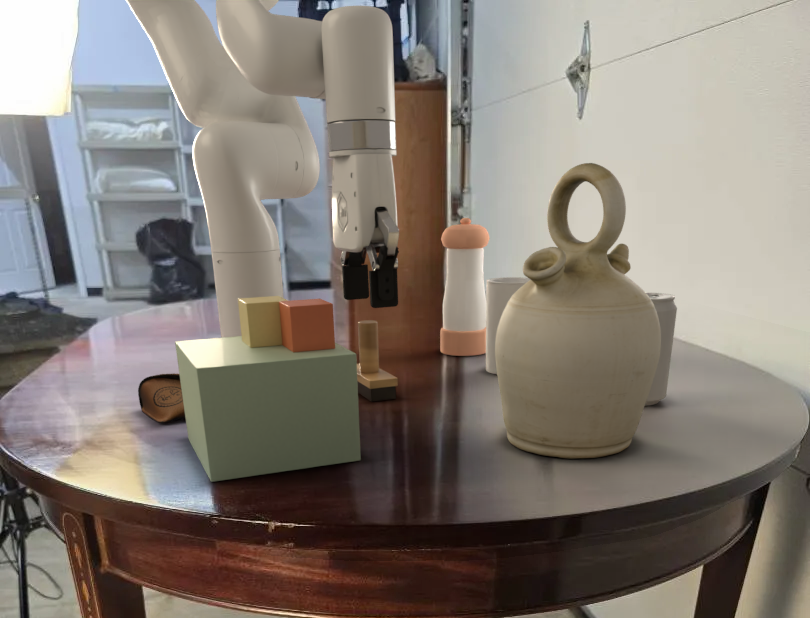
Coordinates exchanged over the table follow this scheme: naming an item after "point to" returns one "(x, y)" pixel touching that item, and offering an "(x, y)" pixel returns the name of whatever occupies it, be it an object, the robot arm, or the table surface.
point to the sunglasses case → (162, 397)
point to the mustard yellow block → (260, 321)
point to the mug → (497, 311)
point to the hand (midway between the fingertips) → (369, 302)
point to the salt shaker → (464, 290)
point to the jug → (577, 336)
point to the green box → (268, 406)
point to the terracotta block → (307, 325)
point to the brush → (372, 366)
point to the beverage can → (663, 344)
